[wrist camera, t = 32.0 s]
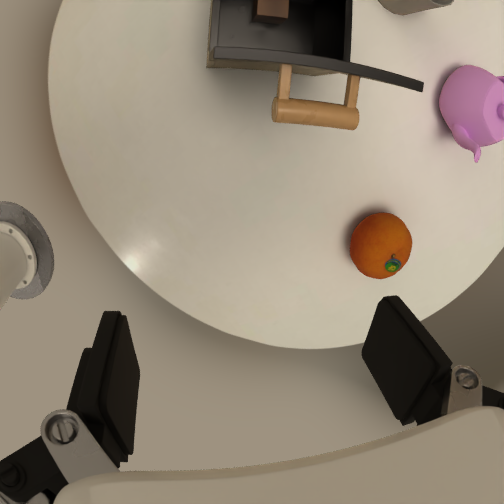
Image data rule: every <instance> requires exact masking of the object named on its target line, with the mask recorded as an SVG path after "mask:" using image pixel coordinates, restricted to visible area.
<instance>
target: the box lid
mask: <svg viewBox="0 0 504 504" xmlns="http://www.w3.org/2000/svg"><path fill="white" fill-rule="evenodd" d="M209 60H214V61H242V62H257V63H269V64H280V67H279V78H278V88H277V97H275V98H274V100H273V103H272V120H273V122H277V123H291V124H303V125H313V126H323V127H331V128H340V129H347V130H355V129H356V128H357V126H358V123H359V111H358V109H357V108H356V103H357V96H358V89H359V82H360V77H362V78H366V79H371V80H376V81H380V82H385V83H389V84H393V85H397V86H401V87H405V88H408V89H412V90H416V91H419V92H422V91H423V85H424V82H421V81H418V80H415V79H412V78H409V77H405V76H402V75H399V74H395V73H392V72H388V71H385V70H381V69H377V68H373V67H369V66H365V65H361V64H356V63H352V62H347V61H342V60H337V59H332V58H327V57H321V56H315V55H309V54H302V53H295V52H287V51H279V50H269V49H258V48H244V47H223V46H214V48H213V49H212V50H211V51H210V53H209ZM292 66H297V67H304V68H311V69H318V70H324V71H330V72H336V73H341V74H346V75H348V78H347V86H346V93H345V100H344V105H341V104H334V103H327V102H320V101H312V100H303V99H294V98H289V93H290V83H291V74H292Z"/></svg>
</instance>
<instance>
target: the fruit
mask: <svg viewBox="0 0 504 504" xmlns="http://www.w3.org/2000/svg"><path fill="white" fill-rule="evenodd" d="M411 248H412V238H411V234H410V232H409V230H408V228H407V227H406V225H405V224H404V222H403V221H402V220H401V219H400V218H398V217H397V216H395V215H393V214H391V213H377V214H373V215H370V216H368V217H366V218H365V219H364V220H363V221H362V222H361V223H359V224H358V225H357V227H356V228H355V230H354V232H353V234H352V237H351V243H350V256H351V259H352V261H353V262H354V264H355V265H356V267H357V268H358V270H359V271H360V272H361V273H363V274H364V275H366V276H368V277H371V278H376V279H384V278H388V277H390V276H393V275H395V274H396V273H397V272H398V271H399V270H400V269H402V267H403V266H404V265H405V264H406V262H407V261H408V259H409V256H410V252H411Z"/></svg>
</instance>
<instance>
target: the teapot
mask: <svg viewBox="0 0 504 504" xmlns="http://www.w3.org/2000/svg"><path fill="white" fill-rule="evenodd" d="M439 108H440V112H441V114H442V116H443V118H444V120H445V122H446V123H447V125H448V127H449V128H450V130H451V131H452V134H453V137H454V139H455V141H456V142H457V143H458V144H459V145H460V146H461V147H463V148H465V149H468V150H471V151H472V152H473V153H474V160H475V162H478V160H479V158H480V155H481V149H480V147H483V146H488V145H492V144H495V143H498V142H500V141H502V140H503V139H504V76H498V77H496V76H494V75H493V74H491V73H490V72H488V71H486V70H484V69H482V68H480V67H476V66H472V65H464V66H461V67H459V68H458V69H456V70H455V71H454V72H453V73H452V74H451V75H450V76H449V77H448V79H447V80H446V82H445V84H444V86H443V88H442V91H441V94H440V98H439Z"/></svg>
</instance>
